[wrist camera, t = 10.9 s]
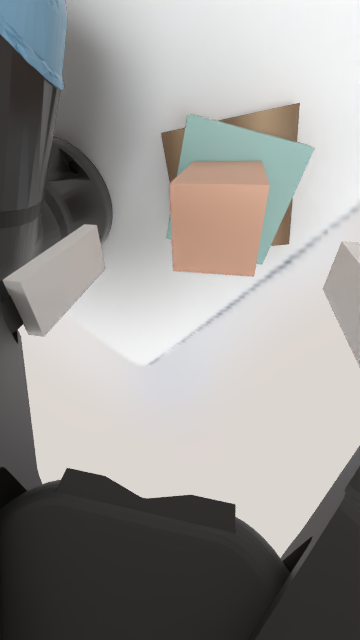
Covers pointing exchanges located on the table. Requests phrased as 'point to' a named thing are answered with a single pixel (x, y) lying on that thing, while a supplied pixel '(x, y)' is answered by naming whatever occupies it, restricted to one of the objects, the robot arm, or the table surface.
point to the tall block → (218, 216)
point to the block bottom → (268, 122)
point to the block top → (248, 145)
